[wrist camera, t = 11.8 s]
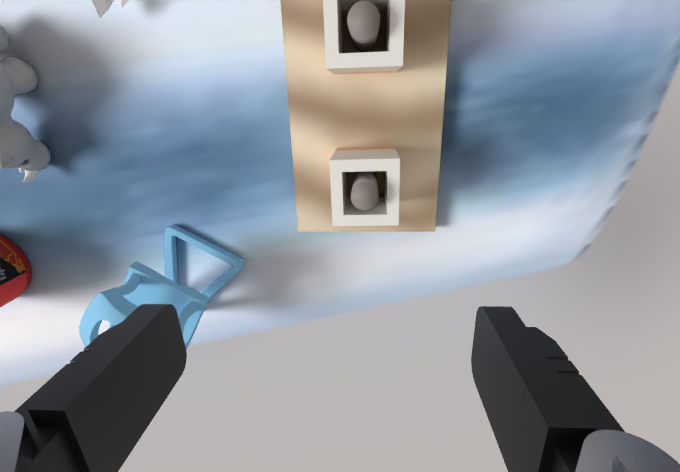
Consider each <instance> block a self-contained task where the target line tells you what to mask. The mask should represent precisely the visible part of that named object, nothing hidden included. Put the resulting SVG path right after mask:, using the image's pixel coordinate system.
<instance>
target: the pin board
mask: <svg viewBox="0 0 680 472" xmlns="http://www.w3.org/2000/svg"><path fill="white" fill-rule="evenodd" d="M450 11H451V0H405V14H404V47H403V66H402V67H401V68H400V69H399V70H398V71H397V72H388V73H361V74H333V73H331V72H330V71H328V70H327V69H326V62H325V37H324V12H323V0H281V12H282V25H283V38H284V51H285V64H286V77H287V90H288V103H289V117H290V130H291V143H292V156H293V169H294V182H295V195H296V208H297V221H298V232H423V231H435V228H436V214H437V199H438V185H439V170H440V156H441V141H442V127H443V112H444V98H445V83H446V69H447V54H448V40H449V25H450ZM385 42H386V14H379V11H378V9H377V7H376V6H375V5H374V4H373V3H371V2H369V1H359V2H357V3H355V4H354V5H353V6H352V7H351V9H350V10H349V13H348V16H344V48H345V53H361V52H385ZM390 146H394V147H395V149H396V151H397V153H398V155H399V157H400V185H399V225H398V226H332V206H331V185H330V164H329V160H330V158H331V157H332V155H333V153H334V152H335V150H336V149H337V148H355V147H390ZM347 175H348V194H349V193H351V201H352V203H353V205H354V206H355V207H356V208H358V209H360V210H369V209H371V208H373V207H374V206H375V205H376V204H377V202H378V197H379V196H378V193H384V171H364V172H347Z"/></svg>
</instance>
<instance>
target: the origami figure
mask: <svg viewBox="0 0 680 472" xmlns="http://www.w3.org/2000/svg"><path fill="white" fill-rule="evenodd" d="M113 1H114V0H92V2H93V4H94V6H95V8H96V11H97V13H98V15H99V17H100V18H101V17H102V15H103V14H104V13H105V12H106V11H107V10H108V9H109V8H110V6H111V4H112V2H113ZM127 2H128V0H119V4H120V6H121V8H122V7H123V6H124V5H125V4H126V3H127Z"/></svg>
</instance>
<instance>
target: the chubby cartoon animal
mask: <svg viewBox="0 0 680 472" xmlns="http://www.w3.org/2000/svg"><path fill="white" fill-rule="evenodd" d="M8 45H9V37H8V34H7V32H6V31H5V29H4V28H3V27H2V26H1V25H0V53H1V52H3V51H4V50H6V49H7V47H8ZM37 84H38V77H37V74H36V72H35V71H34V69H33V68H32V67H31V66H30V65H29V64H27V63H26V62H24V61H22V60H20V59H18V58H14V57H8V58H4V59H2V60H0V168H14V167H18V168H19V171H20V172H21V173H22V172H23V171H25V179H24V180H23V183H26V182H30V181H32V180H33V179H35V178H36V176H37V175H38V173H39V171H40V170H41V169H45V168H46V167H47V165H48V163H49V162H50V159H51V155H50V151H49V150H48V148H47V147H46V146H45V145H44V144H43V143H41V142H40V141H37V140H35V139H34V138H33V137H32V135H31V134H30V132H29V131H28V130H27V129H26V128H25V127H24V126H23V125H22V124H20V123H18V122H16V121H14V120H13V119H12V118H11V115H10V114H11V111H12V109H13V105H14V96H15V95H17V94H23V93H27V92H29V91H31V90H33V89H34V88H35V87H36V86H37Z"/></svg>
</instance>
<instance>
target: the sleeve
mask: <svg viewBox="0 0 680 472" xmlns="http://www.w3.org/2000/svg"><path fill="white" fill-rule="evenodd" d="M329 164H330V185H331V206H332V226H398V225H399V185H400V157H399V155H398V153H397V151H396V149H395V147H394V146H390V147H355V148H337V149H336V150H335V152H334V153H333V155H332V157H331V158H330V160H329ZM364 171H384V193H378V196H379V197H378V202H377V204H376V205H375V206H374V207H373V208H371V209H369V210H360V209H358V208H356V207H355V206H354V205H353V203H352V201H351V193H349V194H348V175H347V172H364Z"/></svg>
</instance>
